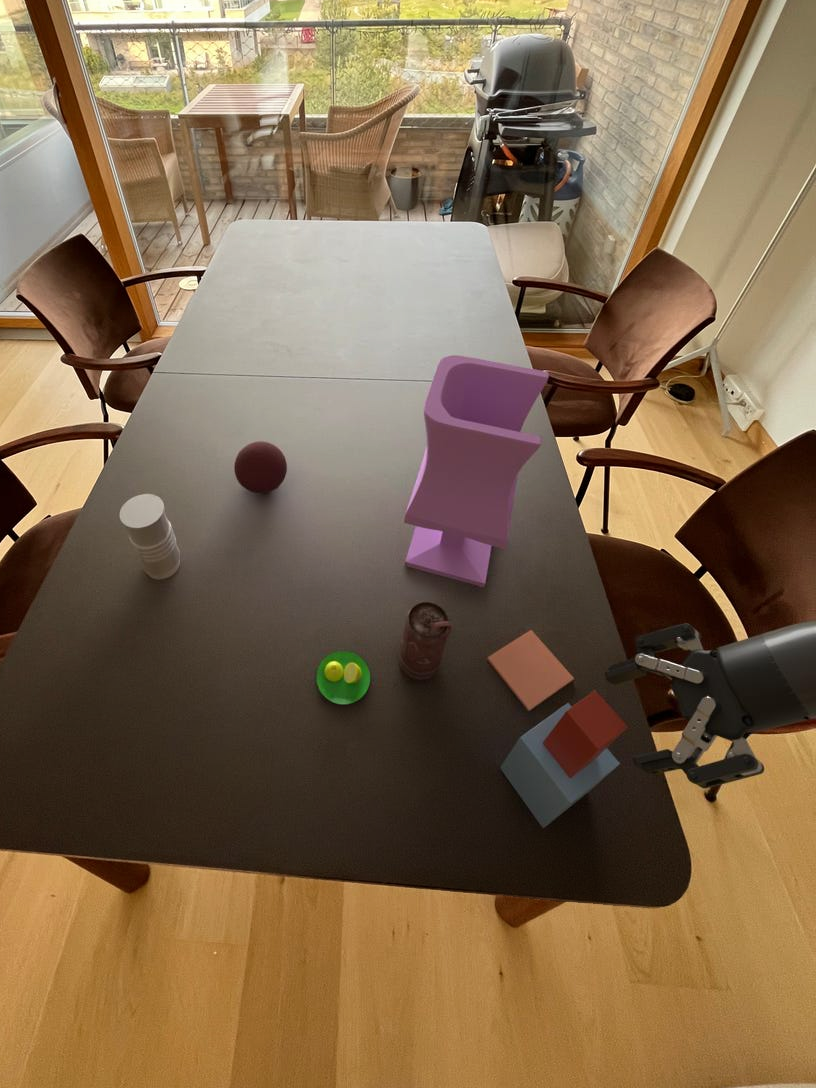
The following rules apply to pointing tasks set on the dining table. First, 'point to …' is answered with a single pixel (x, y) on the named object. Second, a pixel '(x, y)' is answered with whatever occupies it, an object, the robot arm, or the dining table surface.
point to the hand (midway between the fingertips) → (621, 719)
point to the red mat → (530, 670)
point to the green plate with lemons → (343, 677)
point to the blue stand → (550, 773)
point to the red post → (583, 733)
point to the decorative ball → (260, 467)
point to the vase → (470, 464)
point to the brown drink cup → (423, 642)
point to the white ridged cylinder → (151, 535)
